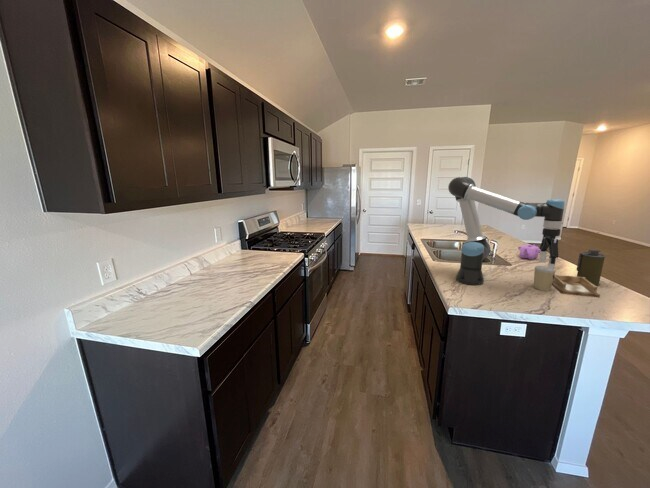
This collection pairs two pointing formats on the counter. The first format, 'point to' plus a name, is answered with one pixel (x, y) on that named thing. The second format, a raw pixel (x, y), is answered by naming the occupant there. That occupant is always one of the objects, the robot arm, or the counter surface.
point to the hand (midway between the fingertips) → (546, 265)
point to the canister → (590, 266)
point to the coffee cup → (543, 278)
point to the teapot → (529, 251)
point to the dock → (574, 286)
